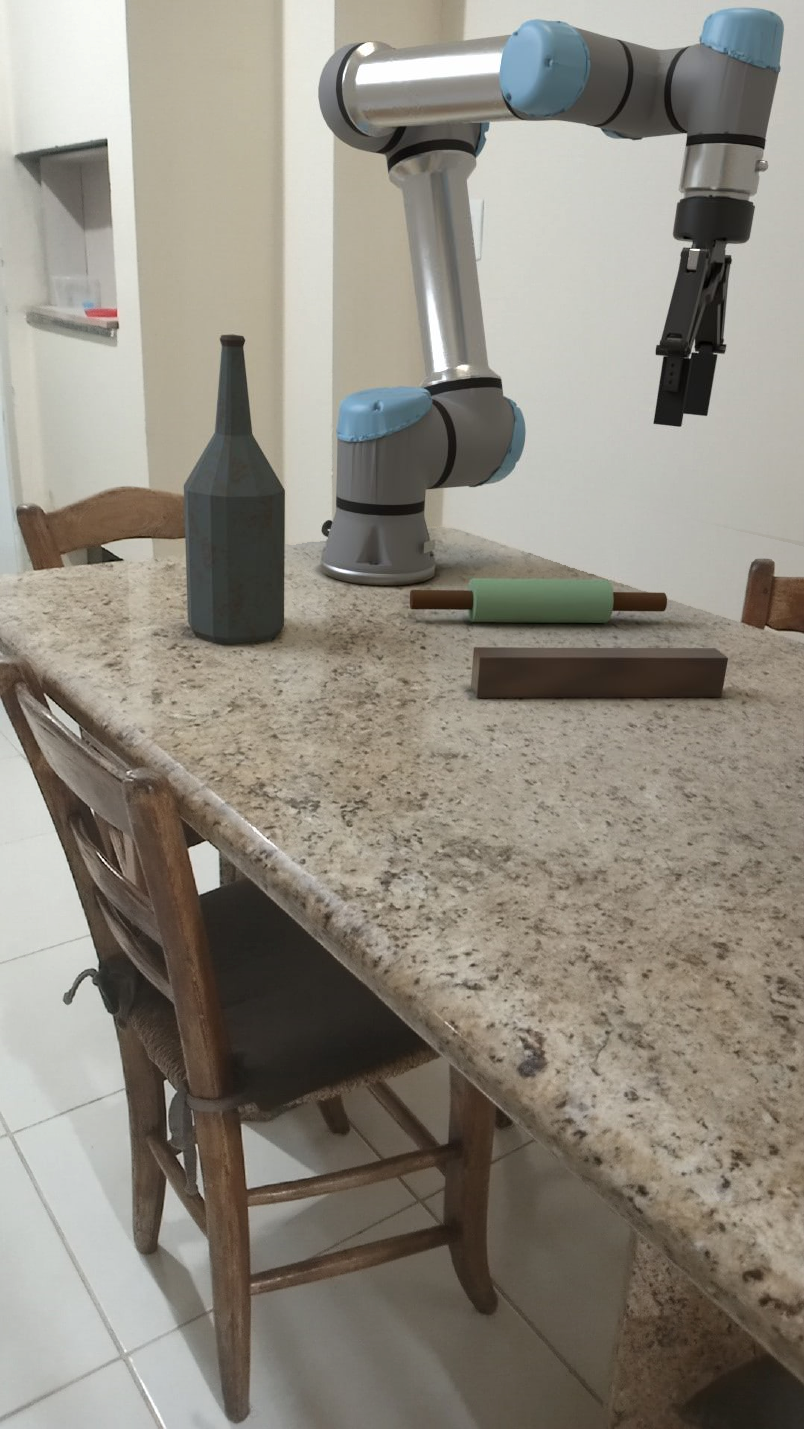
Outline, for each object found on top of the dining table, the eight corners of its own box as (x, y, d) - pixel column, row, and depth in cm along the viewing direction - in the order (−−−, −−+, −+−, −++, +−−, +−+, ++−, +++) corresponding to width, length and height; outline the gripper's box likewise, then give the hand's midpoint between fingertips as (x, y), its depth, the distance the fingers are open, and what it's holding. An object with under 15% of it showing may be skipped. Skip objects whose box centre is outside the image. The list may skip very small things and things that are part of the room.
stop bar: (476, 698, 95) (480, 657, 93) (470, 686, 98) (473, 647, 96) (721, 697, 98) (728, 658, 97) (708, 686, 101) (715, 647, 99)
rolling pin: (411, 629, 115) (415, 591, 112) (406, 607, 119) (410, 569, 116) (665, 631, 119) (675, 593, 117) (652, 609, 123) (661, 573, 121)
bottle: (302, 631, 111) (306, 337, 100) (238, 652, 104) (234, 337, 92) (234, 612, 116) (230, 331, 105) (168, 630, 109) (157, 330, 98)
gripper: (734, 185, 89) (693, 434, 98) (773, 210, 110) (737, 414, 118) (649, 183, 92) (616, 425, 100) (703, 208, 113) (672, 407, 121)
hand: (681, 420), depth 109 cm, fingers open, 13 cm apart
